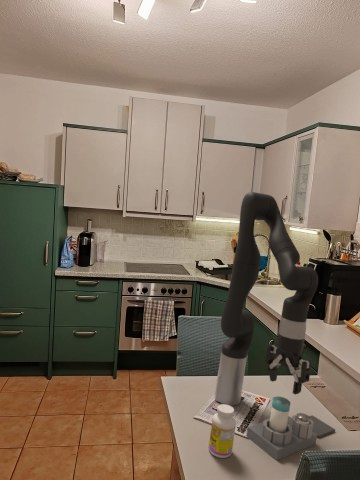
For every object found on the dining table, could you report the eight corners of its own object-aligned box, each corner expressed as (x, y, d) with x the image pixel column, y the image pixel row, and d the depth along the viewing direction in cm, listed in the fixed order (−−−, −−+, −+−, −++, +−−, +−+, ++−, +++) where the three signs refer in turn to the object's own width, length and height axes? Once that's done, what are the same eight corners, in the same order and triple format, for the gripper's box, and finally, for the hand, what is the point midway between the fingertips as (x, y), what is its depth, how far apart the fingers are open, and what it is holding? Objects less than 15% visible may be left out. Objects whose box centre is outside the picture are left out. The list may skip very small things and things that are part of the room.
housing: (276, 460, 105) (280, 436, 105) (246, 436, 115) (249, 414, 115) (315, 444, 116) (319, 422, 115) (285, 423, 125) (288, 403, 125)
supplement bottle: (206, 443, 109) (212, 401, 108) (228, 444, 110) (234, 403, 109) (210, 458, 102) (216, 414, 101) (233, 460, 103) (240, 415, 102)
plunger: (302, 437, 113) (304, 421, 112) (291, 429, 116) (293, 414, 116) (310, 434, 115) (313, 418, 115) (299, 427, 118) (302, 411, 118)
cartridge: (277, 443, 108) (282, 406, 108) (264, 433, 113) (269, 398, 112) (288, 438, 111) (294, 403, 110) (275, 429, 116) (280, 395, 115)
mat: (318, 438, 119) (318, 435, 119) (295, 423, 126) (295, 420, 126) (334, 431, 124) (335, 429, 124) (311, 417, 131) (312, 415, 131)
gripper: (320, 340, 106) (312, 395, 107) (281, 325, 118) (274, 374, 119) (303, 343, 102) (295, 400, 103) (264, 327, 113) (257, 378, 114)
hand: (284, 386), depth 111 cm, fingers open, 8 cm apart
